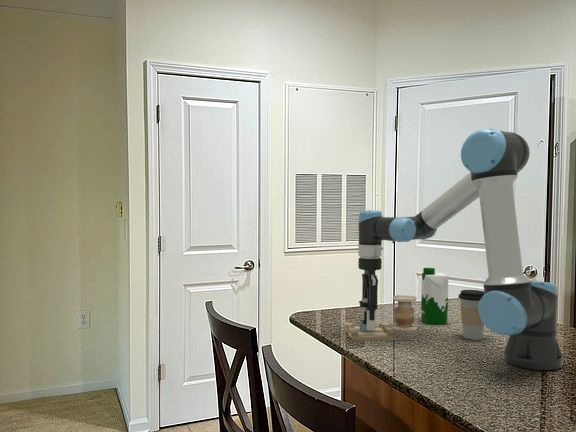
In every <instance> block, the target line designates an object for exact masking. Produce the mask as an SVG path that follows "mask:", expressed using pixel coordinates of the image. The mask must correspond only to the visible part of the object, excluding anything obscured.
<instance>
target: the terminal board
mask: <svg viewBox="0 0 576 432" xmlns="http://www.w3.org/2000/svg"><path fill="white" fill-rule="evenodd" d="M375 327H379V328H375V330H364V329H360V325H359V326H356V325H355V326H354V325H353V323H352V322H351V321H345V322H344V330H345V332H346V333H347V335H348V336H349V338H350V339H351V340H352V341H396V337H397V336H396V330H395V329H393V328H391V325H389V324H388V323H387V322H386V321H379V322H378V325H375Z"/></svg>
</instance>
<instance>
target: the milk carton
mask: <svg viewBox="0 0 576 432" xmlns="http://www.w3.org/2000/svg"><path fill="white" fill-rule="evenodd" d="M422 270H423V272H421V297H420V298H421V303H420V304H421V305H420V310H421V321H423V323H424V324H425V325H427V326H428V325H429V326H434V325H436V326H447V323H448V311H449V275H448V274H445V273H444V272H436V268H434V267H423V269H422Z"/></svg>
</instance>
